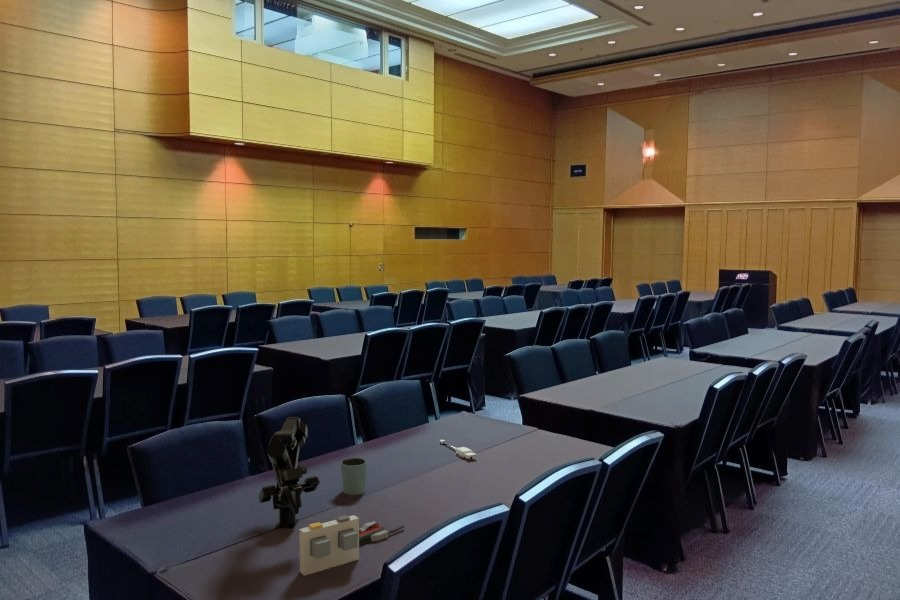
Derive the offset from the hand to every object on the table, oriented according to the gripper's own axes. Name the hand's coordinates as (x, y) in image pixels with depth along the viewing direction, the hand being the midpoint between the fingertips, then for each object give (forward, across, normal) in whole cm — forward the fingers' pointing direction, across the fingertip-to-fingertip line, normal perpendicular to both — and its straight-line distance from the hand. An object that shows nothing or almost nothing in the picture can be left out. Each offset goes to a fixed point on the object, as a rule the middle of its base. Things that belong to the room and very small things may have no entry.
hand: (297, 513), depth 210 cm
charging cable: (-30, +103, +49) cm, 118 cm away
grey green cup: (-17, +39, +35) cm, 55 cm away
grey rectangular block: (+15, 0, -5) cm, 16 cm away
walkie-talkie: (+11, +26, +7) cm, 29 cm away
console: (+18, +4, -1) cm, 19 cm away
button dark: (+15, +9, -5) cm, 18 cm away
